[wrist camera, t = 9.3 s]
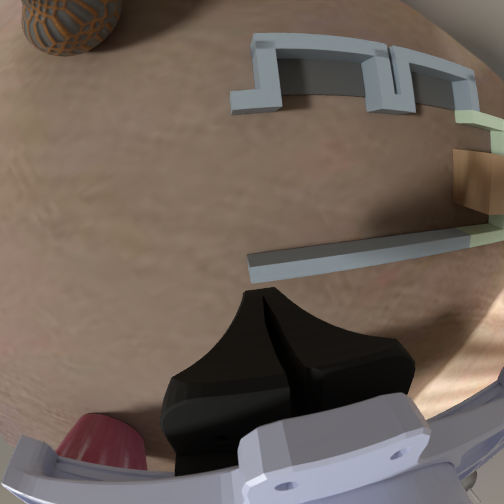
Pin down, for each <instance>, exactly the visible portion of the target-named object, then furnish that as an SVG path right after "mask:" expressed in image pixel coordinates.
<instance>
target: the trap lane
mask: <svg viewBox="0 0 504 504" xmlns="http://www.w3.org/2000/svg"><path fill="white" fill-rule="evenodd" d="M250 47H251V55H252V64H253V72H254V81H255V89H254V90H241V91H231V92H230V107H231V115H239V114H250V113H263V112H276V111H277V110H278V109H280V108H281V107H282V98H281V95H340V96H357V97H365V101H366V109H367V112H374V113H386V114H397V115H400V114H408V113H416V108H415V103H418V104H424V105H430V106H435V107H440V108H445V109H450V110H455V119H456V123H458V124H463V125H468V126H472V127H477V128H481V129H485V130H489V131H490V135H491V153H492V154H496V155H501V156H504V120H503V119H500V118H497V117H494V116H491V115H488V114H485V113H481V112H480V109H479V101H478V94H477V87H476V81H475V76H474V70H471V69H469V68H466V67H464V66H461V65H458V64H456V63H453V62H450V61H447V60H444V59H441V58H438V57H435V56H432V55H428V54H425V53H421V52H418V51H414V50H410V49H406V48H402V47H398V46H391V47H389V48H387V45H386V44H384V43H379V42H373V41H368V40H362V39H355V38H348V37H339V36H330V35H318V34H301V33H254V35H253V38H252V42H251V46H250ZM503 240H504V214H500V215H489V220H488V223H487V224H480V225H472V226H464V227H457V228H449V229H442V230H434V231H426V232H419V233H411V234H403V235H396V236H388V237H380V238H373V239H365V240H357V241H349V242H342V243H334V244H326V245H318V246H311V247H303V248H295V249H287V250H279V251H272V252H264V253H256V254H248V255H247V261H248V270H249V275H250V279H251V284H253V283H261V282H268V281H275V280H282V279H289V278H296V277H303V276H310V275H317V274H323V273H330V272H336V271H343V270H349V269H355V268H361V267H367V266H373V265H379V264H385V263H391V262H396V261H402V260H408V259H413V258H419V257H424V256H429V255H435V254H440V253H445V252H450V251H455V250H460V249H465V248H470V247H475V246H480V245H485V244H489V243H494V242H499V241H503Z"/></svg>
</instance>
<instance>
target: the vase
mask: <svg viewBox="0 0 504 504" xmlns="http://www.w3.org/2000/svg"><path fill="white" fill-rule="evenodd" d="M21 1H22V5H23V6H22V29H23V32H24V34H25V36H26V38H27V39H28V41H29V42H30V43H31V44H32V45H33V46H34V47H35V48H36V49H38V50H40V51H42V52H44V53H47V54H50V55H53V56H74V55H78V54H82V53H84V52H87V51H89V50H91V49H93V48H94V47H96V46H97V45H99V44H100V43H101V42H102V41H104V40H105V39H106V38H107V37H108V36H109V34H110V33H111V32H112V31H113V29H114V28H115V26H116V25H117V23H118V21H119V18H120V15H121V11H122V0H21Z"/></svg>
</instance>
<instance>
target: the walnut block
mask: <svg viewBox="0 0 504 504" xmlns="http://www.w3.org/2000/svg"><path fill="white" fill-rule="evenodd" d="M452 202H453V203H456V204H459V205H462V206H465V207H467V208H470V209H473V210H476V211H479V212H482V213H484V214H487V215H500V214H504V156H501V155H496V154H492V153H485V152H477V151H469V150H460V149H453V192H452Z"/></svg>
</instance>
